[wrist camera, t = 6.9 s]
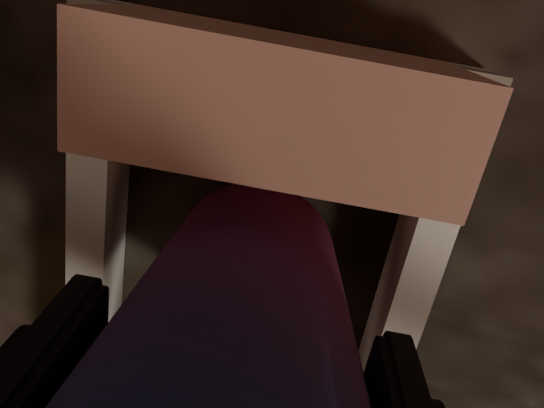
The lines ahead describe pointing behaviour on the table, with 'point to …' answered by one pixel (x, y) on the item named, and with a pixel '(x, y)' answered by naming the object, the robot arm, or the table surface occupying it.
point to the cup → (230, 317)
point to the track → (270, 134)
